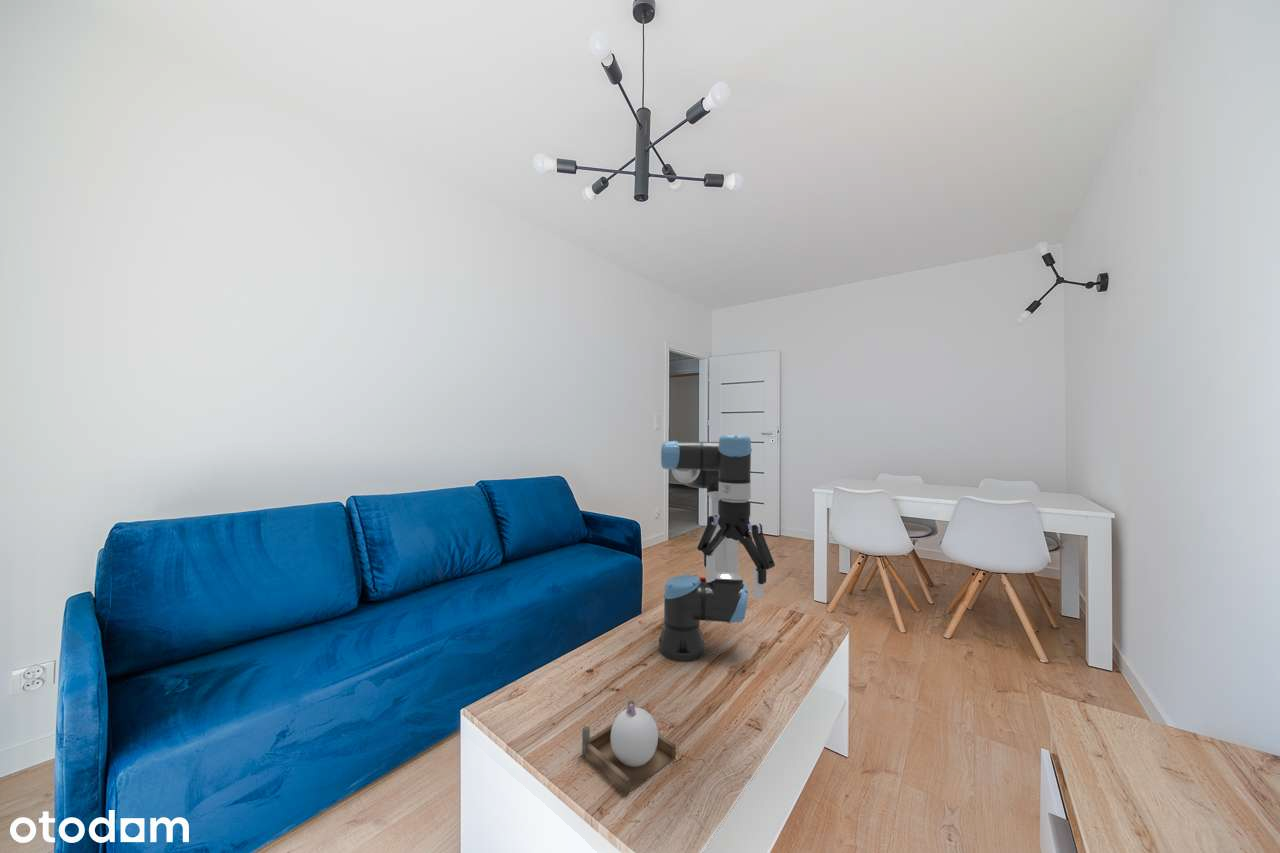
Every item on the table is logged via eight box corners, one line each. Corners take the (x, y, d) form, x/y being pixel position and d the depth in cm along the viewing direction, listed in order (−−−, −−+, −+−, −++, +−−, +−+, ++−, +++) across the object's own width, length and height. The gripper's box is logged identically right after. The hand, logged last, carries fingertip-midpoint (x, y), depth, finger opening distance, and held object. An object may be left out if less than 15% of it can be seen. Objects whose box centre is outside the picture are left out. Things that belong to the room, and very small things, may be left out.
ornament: (602, 770, 91) (603, 713, 91) (621, 737, 101) (622, 686, 101) (648, 785, 87) (648, 725, 87) (663, 750, 97) (664, 696, 97)
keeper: (580, 755, 95) (581, 728, 96) (631, 724, 106) (631, 699, 106) (625, 797, 85) (625, 767, 85) (676, 758, 95) (676, 730, 95)
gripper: (684, 494, 110) (683, 578, 110) (773, 509, 91) (772, 609, 91) (703, 492, 115) (702, 571, 115) (790, 505, 96) (789, 600, 96)
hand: (733, 588), depth 103 cm, fingers open, 13 cm apart
